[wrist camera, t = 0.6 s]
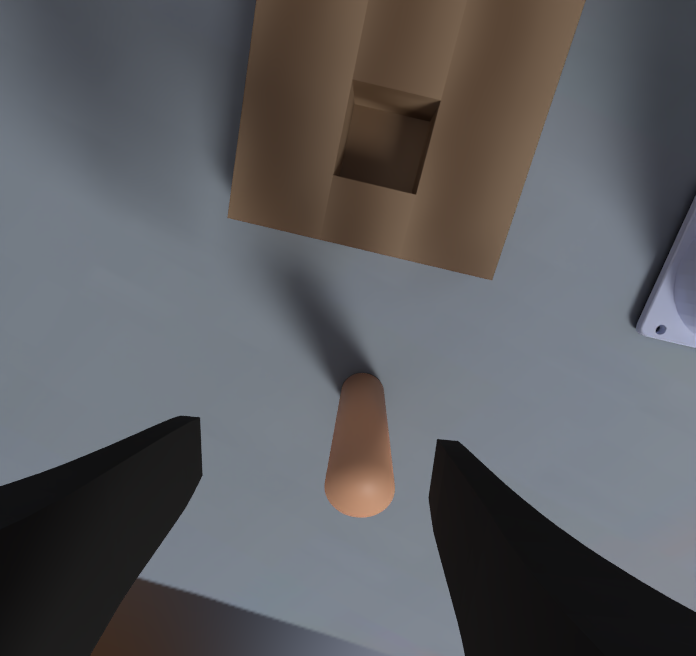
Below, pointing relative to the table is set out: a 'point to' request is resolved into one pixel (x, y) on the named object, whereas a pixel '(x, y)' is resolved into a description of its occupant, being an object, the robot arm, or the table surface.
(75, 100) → the table surface
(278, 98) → the bore block
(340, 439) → the pin
